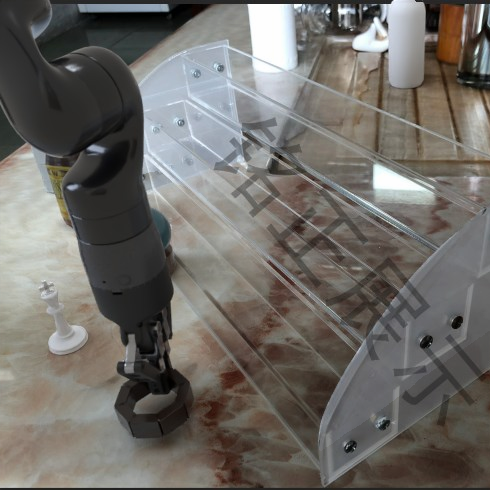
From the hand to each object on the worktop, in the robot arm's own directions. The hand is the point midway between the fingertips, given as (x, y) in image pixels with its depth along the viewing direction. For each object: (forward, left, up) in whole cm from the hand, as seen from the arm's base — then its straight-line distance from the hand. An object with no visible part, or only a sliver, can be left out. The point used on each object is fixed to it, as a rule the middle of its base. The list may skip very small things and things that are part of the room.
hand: (163, 386), depth 68 cm
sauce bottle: (-24, +42, -2) cm, 48 cm away
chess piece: (-15, +10, -2) cm, 19 cm away
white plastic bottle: (+39, +101, -2) cm, 108 cm away
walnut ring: (0, -3, 0) cm, 3 cm away
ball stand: (-8, +26, -2) cm, 27 cm away
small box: (-31, +56, -2) cm, 64 cm away
